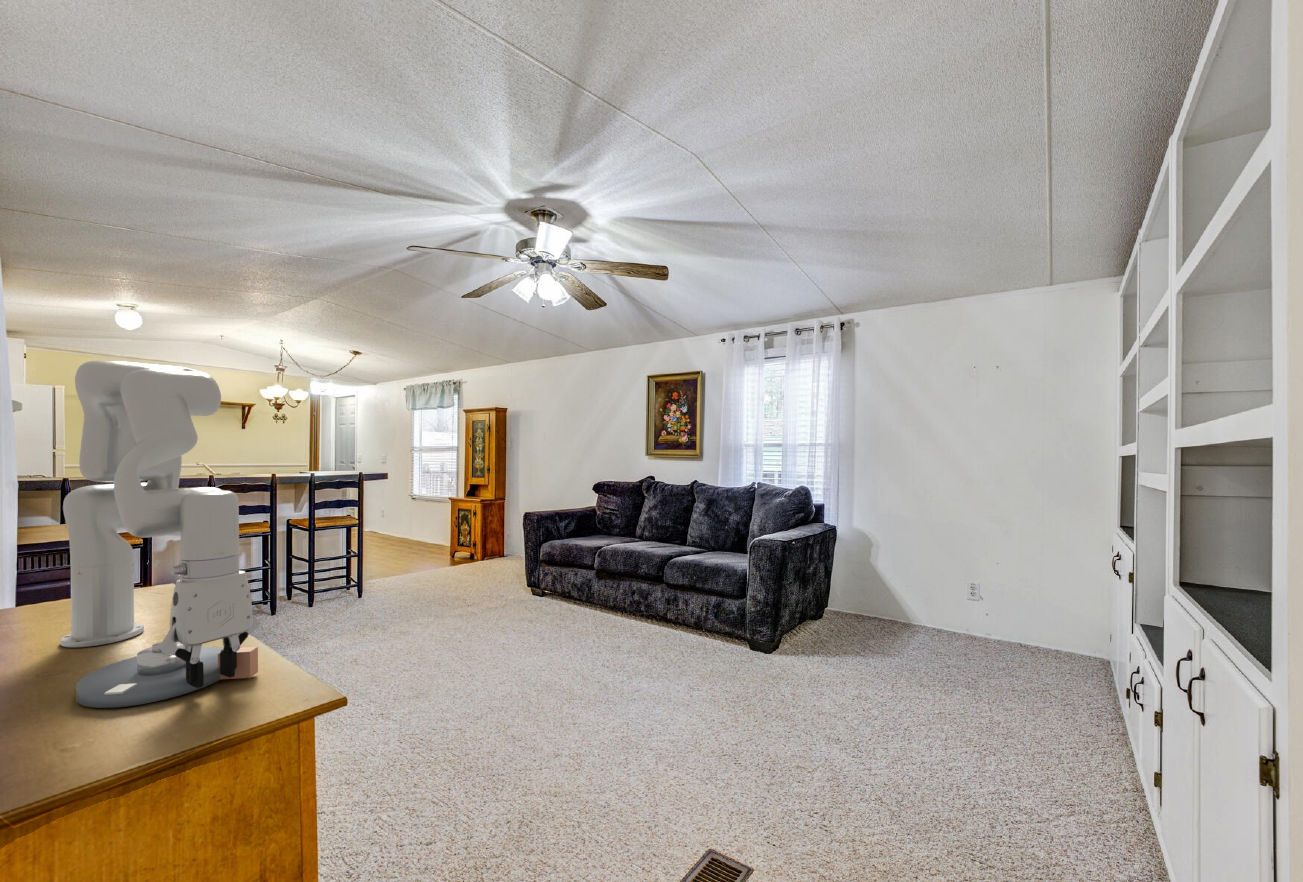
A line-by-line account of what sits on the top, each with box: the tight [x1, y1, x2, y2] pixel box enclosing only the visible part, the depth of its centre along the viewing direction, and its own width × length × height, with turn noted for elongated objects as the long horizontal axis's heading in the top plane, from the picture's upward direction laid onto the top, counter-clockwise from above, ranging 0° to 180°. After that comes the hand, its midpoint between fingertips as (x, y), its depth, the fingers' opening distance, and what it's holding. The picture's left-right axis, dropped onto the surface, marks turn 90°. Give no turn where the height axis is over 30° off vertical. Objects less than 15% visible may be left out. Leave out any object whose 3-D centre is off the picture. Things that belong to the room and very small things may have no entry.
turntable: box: [75, 646, 259, 709], centre depth 98 cm, size 25×20×4 cm
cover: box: [136, 641, 186, 676], centre depth 98 cm, size 7×7×4 cm
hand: (212, 679), depth 94 cm, fingers open, 3 cm apart
